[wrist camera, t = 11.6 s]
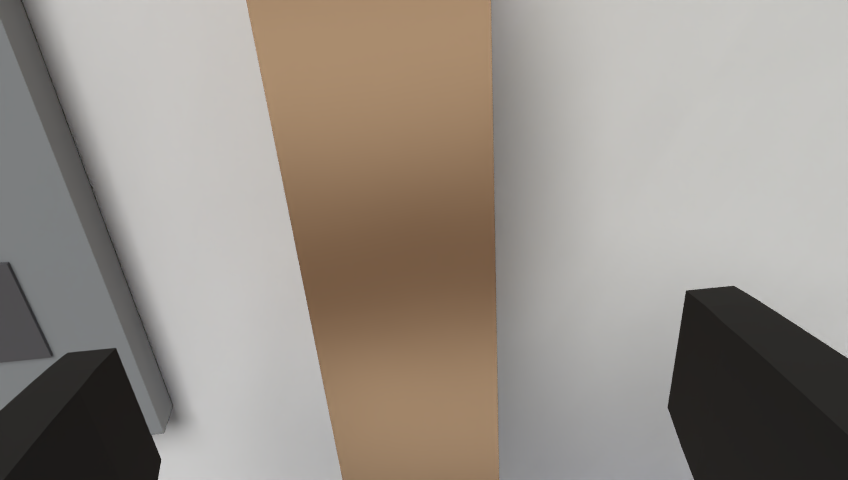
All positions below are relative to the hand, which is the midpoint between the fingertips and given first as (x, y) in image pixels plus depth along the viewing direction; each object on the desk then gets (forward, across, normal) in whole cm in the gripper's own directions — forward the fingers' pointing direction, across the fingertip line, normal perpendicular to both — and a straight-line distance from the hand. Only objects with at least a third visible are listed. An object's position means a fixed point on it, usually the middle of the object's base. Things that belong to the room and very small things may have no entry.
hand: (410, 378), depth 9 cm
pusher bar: (+8, 0, 0) cm, 8 cm away
